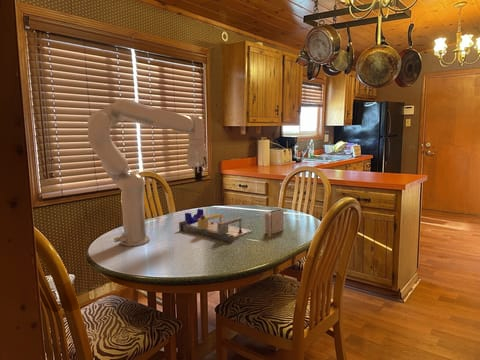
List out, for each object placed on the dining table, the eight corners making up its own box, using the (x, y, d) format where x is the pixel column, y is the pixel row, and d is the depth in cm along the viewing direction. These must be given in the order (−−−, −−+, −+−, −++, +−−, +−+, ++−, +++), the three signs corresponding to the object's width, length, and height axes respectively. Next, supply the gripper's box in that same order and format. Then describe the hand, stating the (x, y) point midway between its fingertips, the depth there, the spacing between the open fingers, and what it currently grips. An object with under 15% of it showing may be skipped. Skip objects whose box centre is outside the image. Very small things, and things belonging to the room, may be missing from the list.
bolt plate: (235, 237, 167) (235, 234, 166) (194, 228, 185) (194, 225, 185) (251, 232, 176) (251, 229, 175) (211, 223, 194) (210, 220, 194)
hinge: (270, 236, 168) (269, 215, 166) (260, 235, 171) (259, 214, 170) (284, 229, 179) (284, 209, 177) (275, 228, 182) (275, 208, 181)
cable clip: (197, 218, 205) (196, 208, 204) (203, 219, 202) (203, 209, 201) (183, 223, 195) (182, 212, 194) (189, 224, 192) (189, 213, 191)
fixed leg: (221, 239, 161) (221, 223, 160) (217, 238, 162) (217, 223, 161) (243, 231, 172) (242, 217, 171) (239, 231, 173) (239, 216, 172)
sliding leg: (201, 234, 169) (201, 217, 168) (198, 233, 171) (197, 216, 170) (223, 227, 180) (222, 211, 179) (219, 226, 182) (219, 210, 181)
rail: (228, 243, 159) (228, 233, 158) (179, 230, 180) (179, 222, 180) (234, 241, 162) (234, 231, 161) (185, 229, 183) (185, 220, 183)
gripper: (180, 143, 176) (182, 180, 178) (201, 143, 166) (203, 182, 169) (192, 142, 181) (194, 178, 184) (213, 142, 171) (214, 180, 174)
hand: (198, 180), depth 176 cm, fingers closed
